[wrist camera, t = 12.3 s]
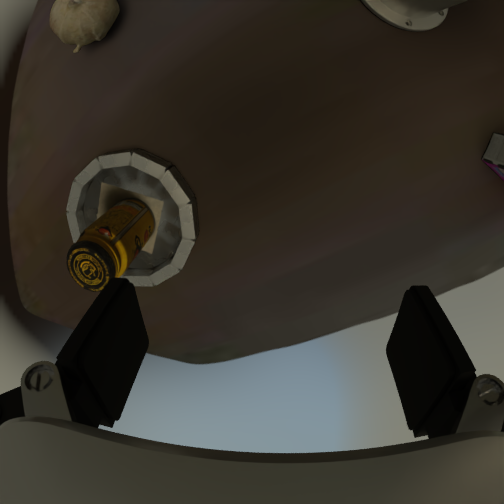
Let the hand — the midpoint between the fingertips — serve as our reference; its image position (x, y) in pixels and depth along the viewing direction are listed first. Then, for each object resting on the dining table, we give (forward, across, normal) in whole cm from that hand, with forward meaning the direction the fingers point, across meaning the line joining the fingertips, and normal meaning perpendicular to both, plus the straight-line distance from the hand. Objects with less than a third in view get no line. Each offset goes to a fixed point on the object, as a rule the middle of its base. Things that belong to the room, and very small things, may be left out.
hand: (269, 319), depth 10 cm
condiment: (+25, +18, +7) cm, 31 cm away
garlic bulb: (+26, +20, -19) cm, 38 cm away
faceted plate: (+25, +17, +7) cm, 31 cm away
